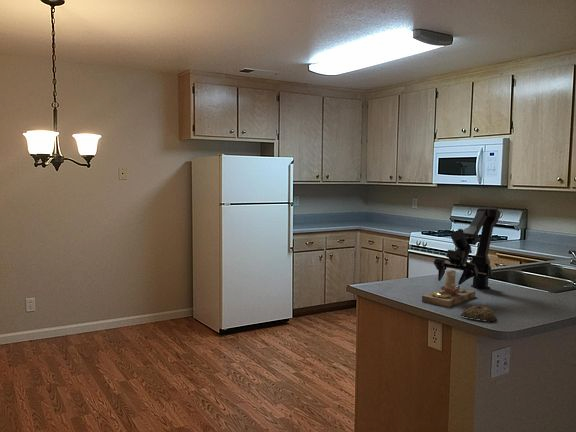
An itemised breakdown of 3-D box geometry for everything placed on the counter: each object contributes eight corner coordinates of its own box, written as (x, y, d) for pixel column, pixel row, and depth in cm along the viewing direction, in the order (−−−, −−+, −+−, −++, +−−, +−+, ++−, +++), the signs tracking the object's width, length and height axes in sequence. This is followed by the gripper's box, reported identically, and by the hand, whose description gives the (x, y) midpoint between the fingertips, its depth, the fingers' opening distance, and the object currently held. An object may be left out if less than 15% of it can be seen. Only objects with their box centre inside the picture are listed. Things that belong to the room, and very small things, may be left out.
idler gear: (456, 297, 222) (457, 269, 220) (459, 301, 214) (461, 272, 213) (439, 296, 223) (441, 268, 221) (441, 300, 215) (443, 272, 214)
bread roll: (493, 324, 184) (494, 311, 184) (458, 319, 190) (459, 306, 190) (498, 316, 195) (498, 303, 195) (465, 311, 201) (465, 299, 201)
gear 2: (452, 287, 229) (453, 283, 229) (469, 290, 224) (469, 286, 224) (444, 290, 224) (444, 285, 223) (461, 293, 218) (462, 289, 218)
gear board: (449, 291, 232) (450, 286, 232) (475, 296, 224) (475, 291, 224) (421, 301, 213) (422, 295, 213) (448, 307, 205) (448, 301, 205)
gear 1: (437, 292, 218) (437, 288, 218) (454, 296, 213) (454, 291, 213) (428, 295, 213) (428, 291, 213) (445, 299, 207) (446, 294, 207)
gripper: (436, 240, 225) (423, 267, 219) (477, 245, 213) (464, 274, 206) (443, 255, 232) (431, 282, 225) (483, 261, 219) (471, 290, 212)
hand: (448, 282), depth 217 cm, fingers open, 9 cm apart
